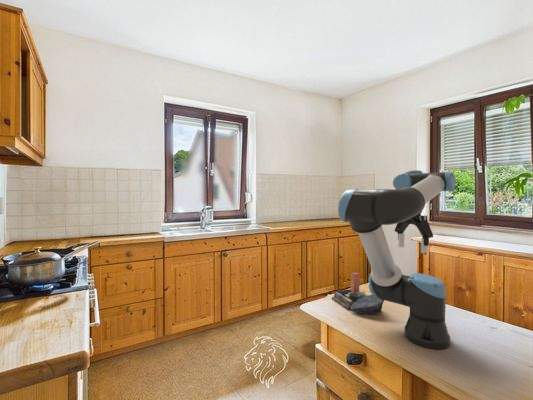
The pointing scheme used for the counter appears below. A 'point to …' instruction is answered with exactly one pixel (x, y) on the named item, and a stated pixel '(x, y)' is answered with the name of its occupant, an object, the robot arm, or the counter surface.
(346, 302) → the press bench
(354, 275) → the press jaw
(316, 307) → the counter surface
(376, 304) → the rock
